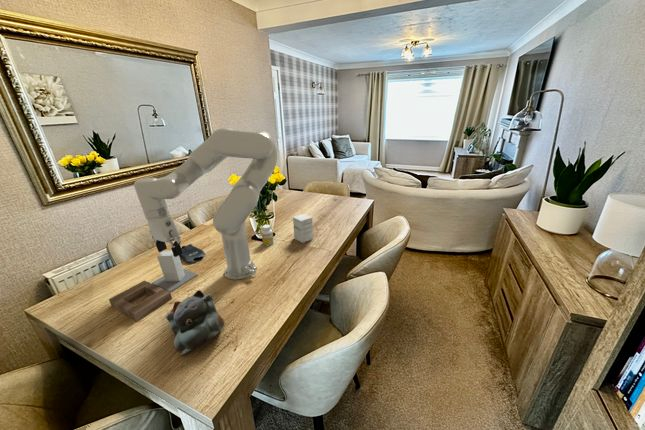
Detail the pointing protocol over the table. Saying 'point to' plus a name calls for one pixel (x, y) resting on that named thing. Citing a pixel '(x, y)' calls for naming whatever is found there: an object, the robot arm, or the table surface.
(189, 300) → the lucky cat figurine
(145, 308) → the walnut socket block
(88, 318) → the table surface
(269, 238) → the supplement bottle
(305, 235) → the supplement box
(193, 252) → the electronic device
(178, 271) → the skincare box
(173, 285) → the grey rubber mat
